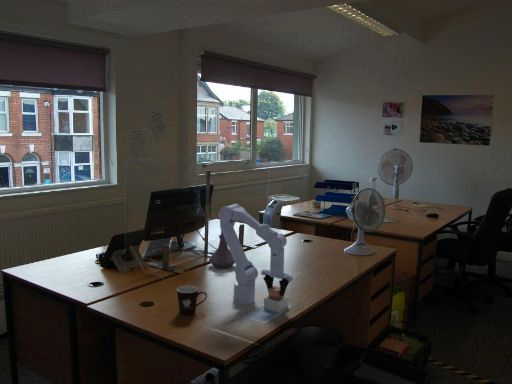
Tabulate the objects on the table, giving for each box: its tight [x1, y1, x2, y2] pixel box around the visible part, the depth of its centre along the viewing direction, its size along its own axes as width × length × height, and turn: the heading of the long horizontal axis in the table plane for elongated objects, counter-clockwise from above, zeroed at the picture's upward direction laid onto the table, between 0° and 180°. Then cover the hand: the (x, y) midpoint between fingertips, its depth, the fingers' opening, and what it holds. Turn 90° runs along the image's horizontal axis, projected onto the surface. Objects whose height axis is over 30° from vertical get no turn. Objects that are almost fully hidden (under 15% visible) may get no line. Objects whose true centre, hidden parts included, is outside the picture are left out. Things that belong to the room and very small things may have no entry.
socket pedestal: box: [263, 295, 289, 312], centre depth 197 cm, size 8×8×4 cm
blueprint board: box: [241, 304, 293, 325], centre depth 193 cm, size 22×11×1 cm, turn 146°
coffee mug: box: [176, 285, 208, 316], centre depth 191 cm, size 12×9×10 cm
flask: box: [208, 230, 235, 270], centre depth 254 cm, size 16×16×20 cm
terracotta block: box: [268, 285, 283, 301], centre depth 196 cm, size 4×4×5 cm
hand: (276, 294), depth 196 cm, fingers open, 5 cm apart
